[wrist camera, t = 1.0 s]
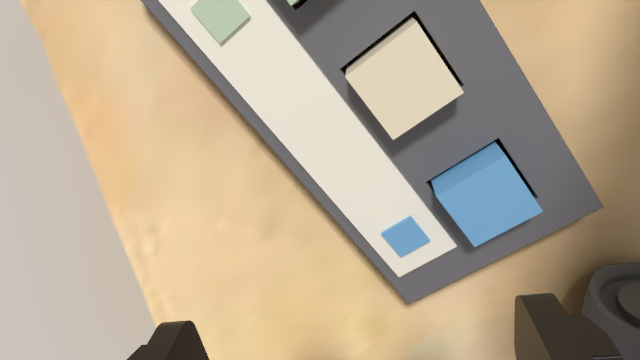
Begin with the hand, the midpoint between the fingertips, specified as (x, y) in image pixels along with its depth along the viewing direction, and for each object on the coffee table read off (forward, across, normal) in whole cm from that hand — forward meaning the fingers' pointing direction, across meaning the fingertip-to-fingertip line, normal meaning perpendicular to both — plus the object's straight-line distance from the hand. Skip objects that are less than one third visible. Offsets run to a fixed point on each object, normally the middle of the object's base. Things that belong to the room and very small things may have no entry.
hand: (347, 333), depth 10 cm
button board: (+22, -1, -1) cm, 22 cm away
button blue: (+21, -8, +7) cm, 23 cm away
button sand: (+21, -3, -2) cm, 21 cm away
